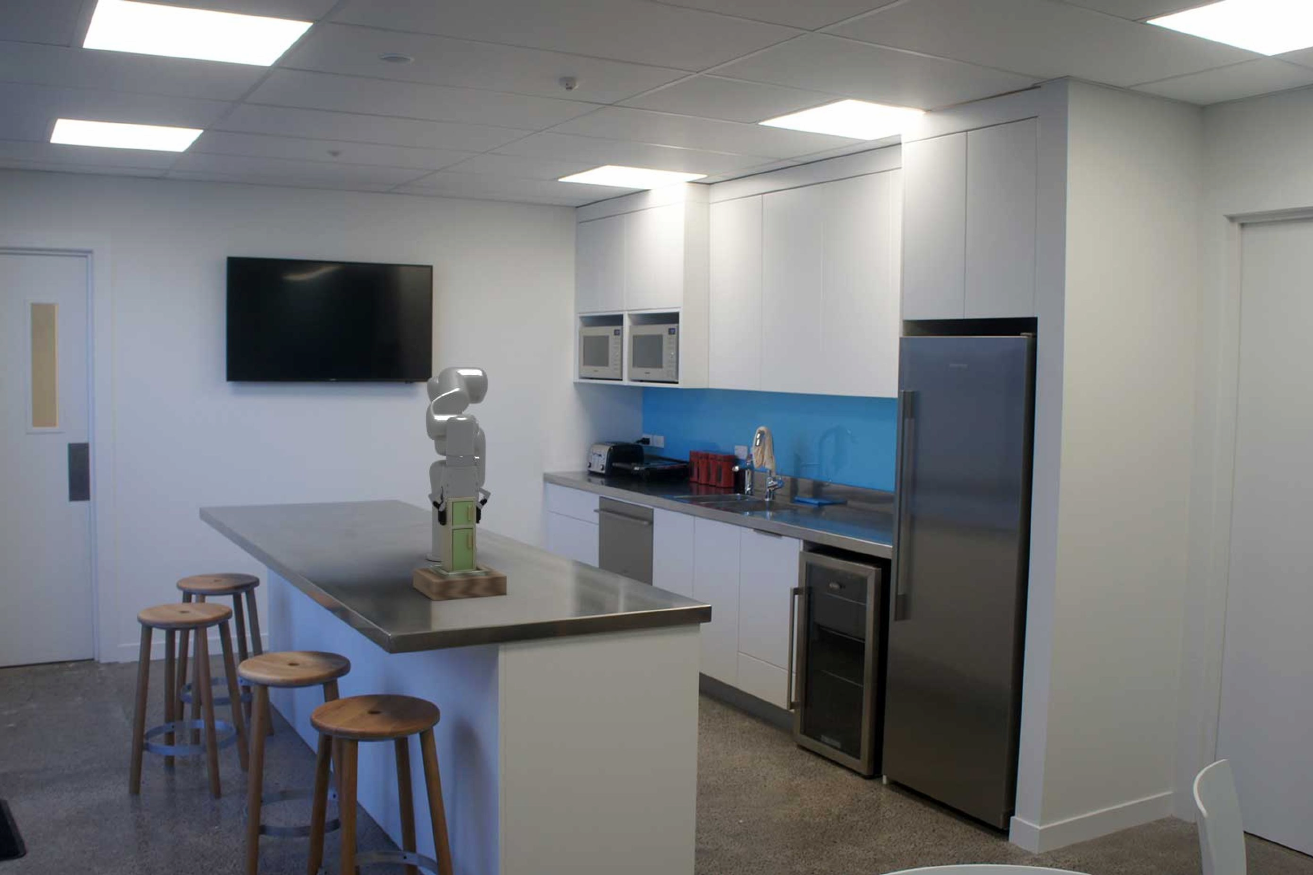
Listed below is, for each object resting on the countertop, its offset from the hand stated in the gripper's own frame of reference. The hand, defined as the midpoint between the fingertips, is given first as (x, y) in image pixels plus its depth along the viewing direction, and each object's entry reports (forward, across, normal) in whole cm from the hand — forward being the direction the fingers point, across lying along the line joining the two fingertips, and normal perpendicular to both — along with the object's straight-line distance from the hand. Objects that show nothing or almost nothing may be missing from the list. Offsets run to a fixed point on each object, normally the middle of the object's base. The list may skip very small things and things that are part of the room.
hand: (459, 523), depth 306 cm
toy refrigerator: (+14, 0, 0) cm, 14 cm away
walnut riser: (+18, 0, +1) cm, 18 cm away
